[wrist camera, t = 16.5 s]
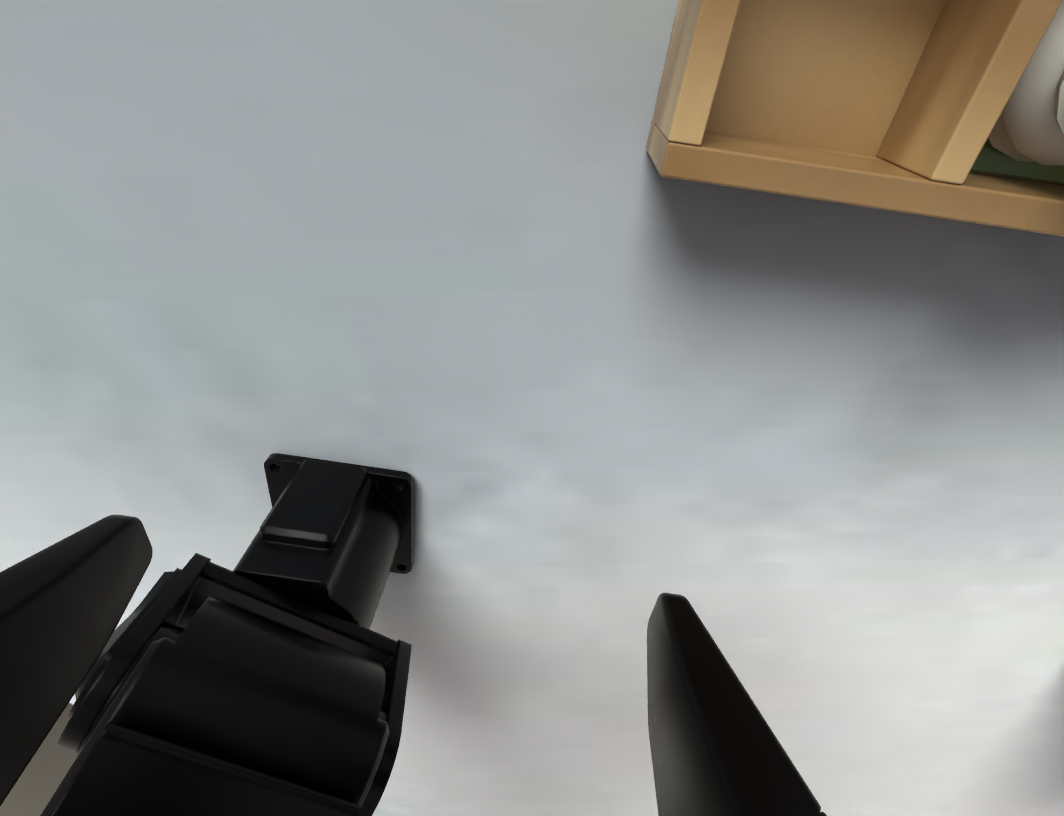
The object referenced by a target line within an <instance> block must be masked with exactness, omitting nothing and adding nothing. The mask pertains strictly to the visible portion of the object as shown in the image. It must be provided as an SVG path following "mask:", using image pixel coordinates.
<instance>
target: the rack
mask: <svg viewBox="0 0 1064 816" xmlns="http://www.w3.org/2000/svg"><path fill="white" fill-rule="evenodd" d="M1062 1H1063V0H679V3H678V8H677V12H676V17H675V21H674V26H673V30H672V35H671V39H670V44H669V48H668V52H667V57H666V61H665V66H664V70H663V75H662V79H661V84H660V88H659V93H658V97H657V102H656V106H655V111H654V115H653V120H652V124H651V129H650V133H649V138H648V142H647V147H646V150H647V152H648V153H649V155H650V157H651V159H652V161H653V163H654V165H655V167H656V168H657V170H658V172H659V174H660V176H662V177H667V178H674V179H681V180H687V181H694V182H701V183H707V184H714V185H721V186H727V187H734V188H741V189H747V190H754V191H761V192H768V193H774V194H781V195H788V196H794V197H801V198H808V199H814V200H821V201H828V202H835V203H841V204H848V205H855V206H861V207H868V208H875V209H881V210H888V211H895V212H901V213H908V214H915V215H922V216H928V217H935V218H942V219H948V220H955V221H962V222H968V223H975V224H982V225H988V226H995V227H1002V228H1009V229H1015V230H1022V231H1029V232H1035V233H1042V234H1049V235H1055V236H1062V237H1064V166H1055V165H1041V164H1039V163H1038V162H1028V161H1017V160H1015V159H1013V158H1011V157H1010V156H1008V155H1006V154H1004V153H1003V152H1001V151H999V150H997V149H996V148H994V147H992V144H991V142H990V140H989V138H988V137H989V135H990V133H991V131H992V129H993V127H994V126H995V124H996V122H997V120H998V118H999V116H1000V115H1001V113H1002V111H1003V109H1004V107H1005V105H1006V104H1007V102H1008V100H1009V98H1010V96H1011V94H1012V93H1013V91H1014V89H1015V87H1016V85H1017V83H1018V82H1019V80H1020V78H1021V76H1022V74H1023V72H1024V71H1025V69H1026V67H1027V65H1028V63H1029V61H1030V60H1031V58H1032V56H1033V54H1034V52H1035V50H1036V49H1037V47H1038V45H1039V43H1040V41H1041V39H1042V37H1043V36H1044V34H1045V32H1046V30H1047V28H1048V26H1049V25H1050V23H1051V21H1052V19H1053V17H1054V15H1055V14H1056V12H1057V10H1058V8H1059V6H1060V4H1061V3H1062Z"/></svg>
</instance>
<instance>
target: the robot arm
mask: <svg viewBox="0 0 1064 816" xmlns="http://www.w3.org/2000/svg"><path fill="white" fill-rule="evenodd" d="M276 464H277V465H279V466H277V465H276ZM264 468H265V473H266V478H267V483H268V488H269V493H270V498H271V503H272V507H273V508H272V509H271V511H270V513H269V514H268V516H267V517H266V519H265V520H264V522H263V523H262V525H261V526H260V530H259V532H258V533H257V535H256V536H255V538H254V539H253V541H252V542H251V544H250V546H249V547H248V549H247V550H246V552H245V553H244V555H243V556H242V558H241V560H240V561H239V563H238V564H237V566H236V567H235V569H234V570H233V571H231V570H228V569H226V568H224V567H221V566H219V565H216V564H214V563H212V562H210V560H211V559H209V558H207V557H205V556H202V555H200V554H198V553H196V554H195V555H194V556H193V557H192V559H191V560H190V561H189V562H188V563H187V565H186V566H185V567H184V568H183V569H182V570H181V569H178V568H177V569H176V570H175V571H174V572H164V574H163V575H162V576H161V578H160V579H159V580H158V581H157V583H156V584H155V585H154V587H153V588H152V589H151V591H150V592H149V593H148V594H147V596H146V597H145V598H144V600H143V601H142V602H141V603H140V605H139V606H138V607H137V608H136V609H135V610H134V612H133V613H132V614H131V615H130V616H129V617H128V618H127V619H126V620H125V621H124V622H123V623H122V624H121V625H120V626H119V627H118V628H117V629H116V630H115V628H116V626H117V625H118V623H119V621H120V619H121V617H122V615H123V613H124V611H125V609H126V607H127V606H128V604H129V602H130V600H131V598H132V596H133V594H134V592H135V590H136V589H137V587H138V585H139V583H140V581H141V579H142V577H143V575H144V573H145V572H146V570H147V568H148V566H149V564H150V562H151V558H152V546H151V544H150V541H149V539H148V536H147V534H146V531H145V529H144V526H143V524H142V522H141V521H140V520H139V519H138V518H136V517H131V516H124V515H110V516H108V517H105V518H103V519H101V520H99V521H98V522H96V523H94V524H92V525H90V526H88V527H86V528H84V529H82V530H80V531H78V532H76V533H75V534H73V535H71V536H69V537H67V538H65V539H63V540H61V541H59V542H57V543H55V544H54V545H52V546H50V547H48V548H46V549H44V550H42V551H40V552H38V553H36V554H34V555H32V556H31V557H29V558H27V559H25V560H23V561H21V562H19V563H17V564H15V565H13V566H11V567H10V568H8V569H6V570H4V571H2V572H0V806H1V804H2V803H3V801H4V799H5V798H6V797H7V795H8V794H9V792H10V790H11V789H12V788H13V786H14V784H15V783H16V782H17V780H18V778H19V777H20V776H21V774H22V773H23V771H24V769H25V768H26V766H27V765H28V763H29V762H30V760H31V759H32V757H33V756H34V754H35V753H36V751H37V750H38V748H39V747H40V745H41V744H42V742H43V741H44V739H45V738H46V736H47V735H48V733H49V732H50V730H51V729H52V727H53V725H54V724H55V722H56V721H57V719H58V718H59V717H60V715H61V713H62V712H63V710H64V709H65V707H66V706H67V704H68V703H69V701H70V700H71V698H72V697H73V695H74V694H75V696H76V702H75V703H74V705H73V707H72V709H71V711H70V714H69V717H71V719H70V720H69V722H68V724H67V726H66V727H65V729H64V731H63V733H62V735H61V737H60V739H59V742H58V747H59V748H63V749H66V750H69V751H72V752H75V753H80V754H79V755H78V757H77V758H76V760H75V762H74V763H73V765H72V766H71V768H70V769H69V771H68V773H67V774H66V776H65V778H64V779H63V781H62V782H61V784H60V785H59V787H58V789H57V790H56V792H55V793H54V795H53V797H52V798H51V800H50V801H49V803H48V804H47V806H46V808H45V809H44V811H43V813H42V814H41V816H372V814H373V812H374V811H375V809H376V807H377V805H378V803H379V801H380V799H381V796H382V794H383V792H384V790H385V787H386V785H387V782H388V780H389V777H390V774H391V771H392V768H393V765H394V762H395V759H396V755H397V751H398V747H399V742H400V737H401V730H402V722H403V713H404V705H405V697H406V688H407V680H408V672H409V663H410V655H411V647H412V646H411V644H408V643H406V642H404V641H401V640H398V641H395V640H393V639H390V638H388V637H386V636H383V635H381V634H379V633H376V632H374V631H372V630H369V629H370V626H371V623H372V620H373V617H374V615H375V612H376V609H377V606H378V603H379V601H380V598H381V595H382V592H383V589H384V586H385V584H386V581H387V578H388V575H389V572H394V573H401V574H406V573H409V572H410V571H411V569H412V566H413V563H414V481H413V478H412V476H411V475H410V474H408V473H406V472H403V471H396V470H389V469H382V468H375V467H368V466H361V465H355V464H348V463H341V462H334V461H327V460H320V459H313V458H306V457H299V456H292V455H285V454H278V453H277V454H271V455H270V456H269V457H268V459H267V460H266V462H265V463H264ZM399 482H403V483H404V484H401V483H399ZM647 678H648V726H649V737H650V746H651V755H652V763H653V772H654V780H655V789H656V797H657V806H658V814H659V816H827V815H826V814H825V813H824V812H820V811H821V807H820V805H819V803H818V802H817V800H816V799H815V797H814V796H813V794H812V792H811V791H810V789H809V788H808V786H807V785H806V783H805V782H804V780H803V778H802V777H801V775H800V774H799V772H798V771H797V769H796V768H795V766H794V764H793V763H792V761H791V760H790V758H789V757H788V755H787V754H786V752H785V750H784V749H783V747H782V746H781V744H780V743H779V741H778V740H777V738H776V736H775V735H774V733H773V732H772V730H771V729H770V727H769V726H768V724H767V722H766V721H765V719H764V718H763V716H762V715H761V713H760V712H759V710H758V708H757V707H756V705H755V704H754V702H753V701H752V699H751V698H750V696H749V695H748V693H747V691H746V690H745V688H744V687H743V685H742V684H741V682H740V681H739V679H738V677H737V676H736V674H735V673H734V671H733V670H732V668H731V667H730V665H729V663H728V662H727V660H726V659H725V657H724V656H723V654H722V653H721V651H720V649H719V648H718V646H717V645H716V643H715V642H714V640H713V639H712V637H711V635H710V634H709V632H708V631H707V629H706V628H705V626H704V625H703V623H702V621H701V620H700V618H699V617H698V615H697V614H696V612H695V611H694V609H693V607H692V606H691V604H690V603H689V601H688V600H687V599H686V598H685V597H684V596H682V595H677V594H670V593H662V594H660V595H659V597H658V599H657V602H656V604H655V606H654V609H653V611H652V614H651V616H650V619H649V622H648V628H647Z"/></svg>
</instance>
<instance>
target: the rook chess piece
mask: <svg viewBox="0 0 1064 816" xmlns="http://www.w3.org/2000/svg"><path fill="white" fill-rule="evenodd" d="M988 138H989V140H990V142H991V144H992V147H994V148H996V149H997V150H999V151H1001V152H1003V153H1004V154H1006V155H1008V156H1010V157H1011V158H1013V159H1015V160H1017V161H1028V162H1038V163H1039V164H1041V165H1055V166H1064V0H1063V1H1062V3H1061V4H1060V6H1059V8H1058V10H1057V12H1056V14H1055V15H1054V17H1053V19H1052V21H1051V23H1050V25H1049V26H1048V28H1047V30H1046V32H1045V34H1044V36H1043V37H1042V39H1041V41H1040V43H1039V45H1038V47H1037V49H1036V50H1035V52H1034V54H1033V56H1032V58H1031V60H1030V61H1029V63H1028V65H1027V67H1026V69H1025V71H1024V72H1023V74H1022V76H1021V78H1020V80H1019V82H1018V83H1017V85H1016V87H1015V89H1014V91H1013V93H1012V94H1011V96H1010V98H1009V100H1008V102H1007V104H1006V105H1005V107H1004V109H1003V111H1002V113H1001V115H1000V116H999V118H998V120H997V122H996V124H995V126H994V127H993V129H992V131H991V133H990V135H989V137H988Z"/></svg>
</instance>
